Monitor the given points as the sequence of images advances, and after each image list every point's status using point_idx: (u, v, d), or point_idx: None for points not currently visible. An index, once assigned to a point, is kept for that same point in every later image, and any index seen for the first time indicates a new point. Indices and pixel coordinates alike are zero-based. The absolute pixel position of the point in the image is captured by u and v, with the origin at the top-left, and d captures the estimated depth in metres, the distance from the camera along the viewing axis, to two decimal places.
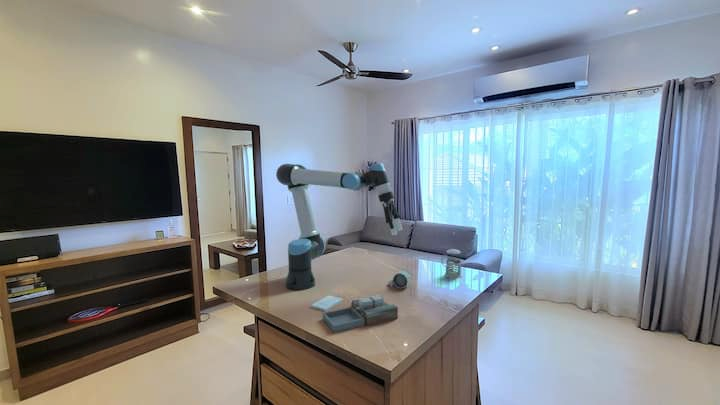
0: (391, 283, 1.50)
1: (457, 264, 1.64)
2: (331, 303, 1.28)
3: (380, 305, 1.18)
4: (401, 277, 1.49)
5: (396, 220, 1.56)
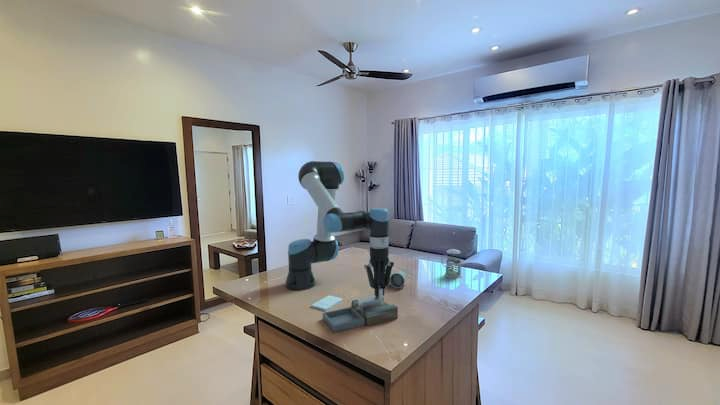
0: None
1: (457, 264, 1.64)
2: (331, 303, 1.28)
3: (377, 306, 1.17)
4: (398, 276, 1.49)
5: None
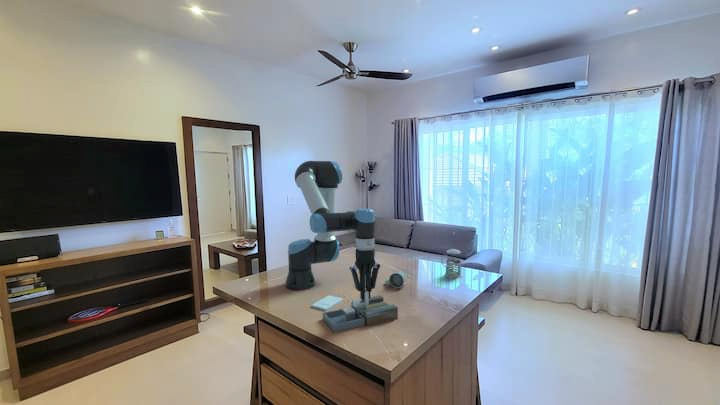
0: (387, 283, 1.51)
1: (457, 264, 1.64)
2: (332, 303, 1.28)
3: (363, 309, 1.14)
4: (398, 276, 1.49)
5: None
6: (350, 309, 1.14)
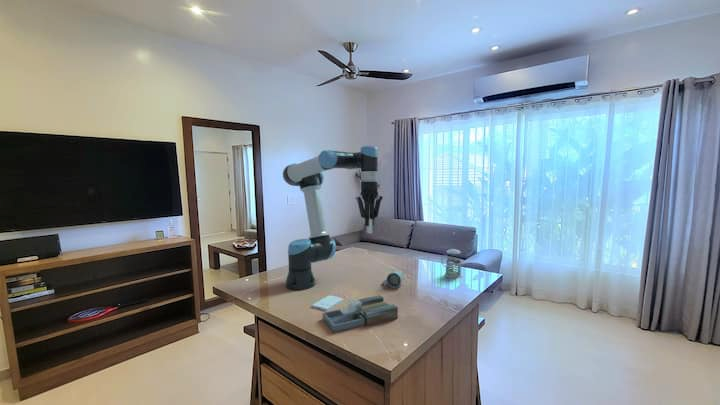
0: (385, 282, 1.52)
1: (457, 264, 1.64)
2: (332, 303, 1.28)
3: (358, 310, 1.13)
4: (395, 276, 1.50)
5: None
6: (347, 309, 1.13)
